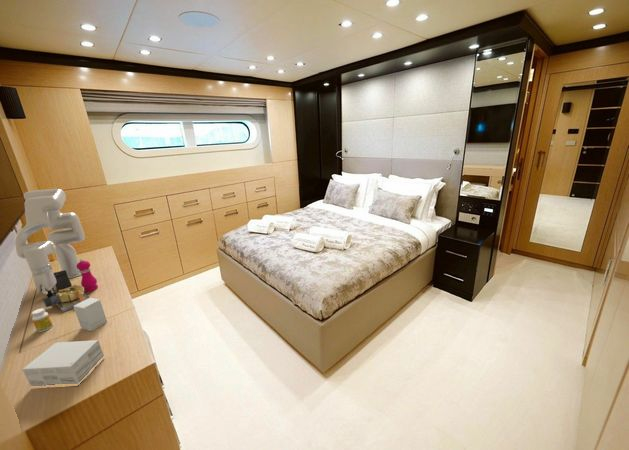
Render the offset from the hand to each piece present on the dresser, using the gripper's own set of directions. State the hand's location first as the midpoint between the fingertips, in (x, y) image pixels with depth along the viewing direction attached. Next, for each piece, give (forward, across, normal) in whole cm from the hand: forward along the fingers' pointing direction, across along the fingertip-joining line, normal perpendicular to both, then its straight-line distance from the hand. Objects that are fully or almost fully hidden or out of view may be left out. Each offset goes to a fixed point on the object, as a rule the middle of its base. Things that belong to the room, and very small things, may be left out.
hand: (53, 299), depth 142 cm
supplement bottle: (+3, +23, +4) cm, 24 cm away
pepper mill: (+4, -11, +13) cm, 17 cm away
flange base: (+3, +1, +8) cm, 8 cm away
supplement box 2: (+3, +32, +25) cm, 41 cm away
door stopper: (+4, -18, -2) cm, 19 cm away
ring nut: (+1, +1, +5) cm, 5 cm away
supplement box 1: (+3, +62, +25) cm, 67 cm away
